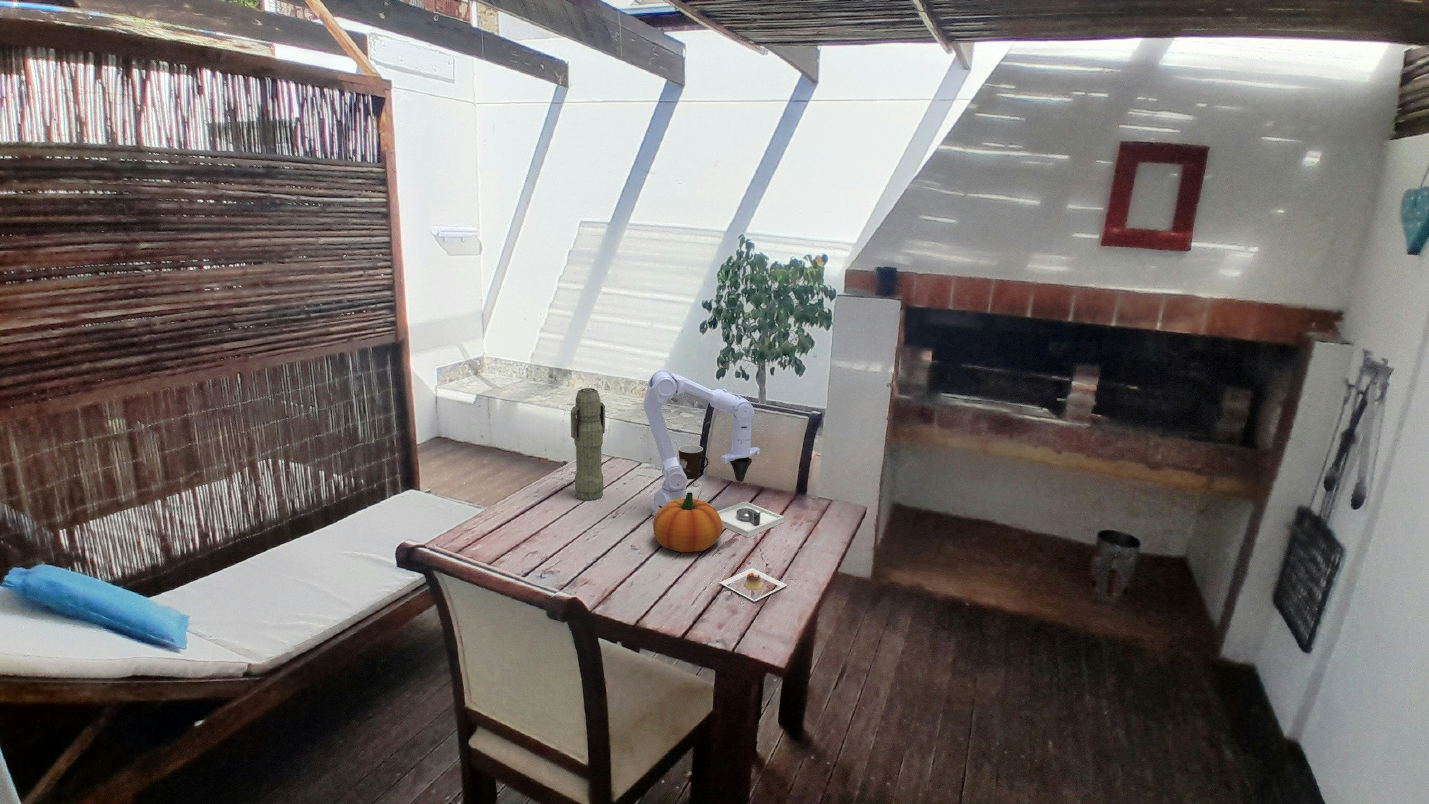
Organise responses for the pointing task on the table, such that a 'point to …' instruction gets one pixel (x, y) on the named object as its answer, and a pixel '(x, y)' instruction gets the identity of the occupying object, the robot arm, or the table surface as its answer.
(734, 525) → the board
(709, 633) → the table surface
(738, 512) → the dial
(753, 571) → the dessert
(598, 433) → the green carved statue
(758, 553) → the table surface
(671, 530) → the pumpkin
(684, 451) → the coffee mug
